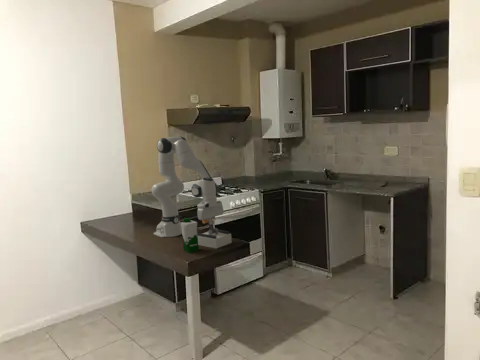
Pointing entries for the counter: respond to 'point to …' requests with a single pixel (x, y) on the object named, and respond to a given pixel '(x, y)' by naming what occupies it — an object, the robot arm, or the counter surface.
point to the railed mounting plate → (212, 235)
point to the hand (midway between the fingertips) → (212, 224)
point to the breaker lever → (209, 225)
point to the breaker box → (215, 243)
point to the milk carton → (189, 235)
